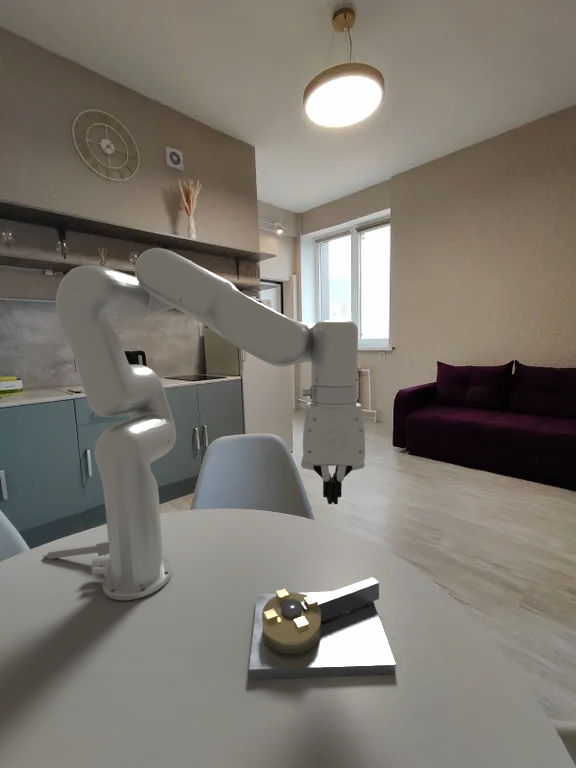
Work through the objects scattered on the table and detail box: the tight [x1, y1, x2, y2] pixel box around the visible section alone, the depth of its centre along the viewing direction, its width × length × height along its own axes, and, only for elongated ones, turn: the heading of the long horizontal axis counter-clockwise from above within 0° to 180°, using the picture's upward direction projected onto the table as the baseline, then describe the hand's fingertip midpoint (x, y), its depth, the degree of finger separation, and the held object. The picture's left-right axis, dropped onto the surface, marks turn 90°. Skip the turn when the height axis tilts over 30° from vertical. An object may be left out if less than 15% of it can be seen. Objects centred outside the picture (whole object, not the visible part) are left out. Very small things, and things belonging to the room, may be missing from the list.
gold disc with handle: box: [262, 576, 380, 654], centre depth 58 cm, size 9×20×4 cm, turn 114°
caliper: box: [42, 540, 109, 560], centre depth 78 cm, size 20×1×6 cm, turn 81°
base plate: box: [248, 591, 397, 680], centre depth 57 cm, size 20×15×2 cm
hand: (331, 500), depth 62 cm, fingers closed
